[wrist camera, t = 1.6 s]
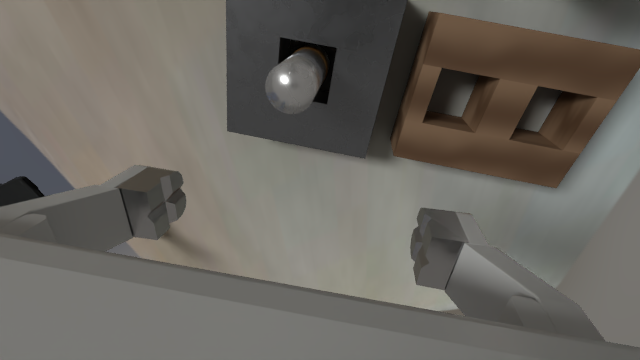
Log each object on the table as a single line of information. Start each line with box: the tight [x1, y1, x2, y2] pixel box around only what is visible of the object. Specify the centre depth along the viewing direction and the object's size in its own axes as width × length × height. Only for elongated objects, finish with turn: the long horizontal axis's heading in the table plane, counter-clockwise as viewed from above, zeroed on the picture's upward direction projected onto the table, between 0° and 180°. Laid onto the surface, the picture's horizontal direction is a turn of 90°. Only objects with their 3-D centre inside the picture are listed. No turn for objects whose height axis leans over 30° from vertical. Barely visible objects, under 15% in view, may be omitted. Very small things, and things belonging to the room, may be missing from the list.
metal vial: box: [265, 44, 330, 114], centre depth 29 cm, size 4×4×12 cm
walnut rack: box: [390, 12, 640, 188], centre depth 31 cm, size 14×18×5 cm
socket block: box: [226, 0, 407, 158], centre depth 32 cm, size 16×16×5 cm
